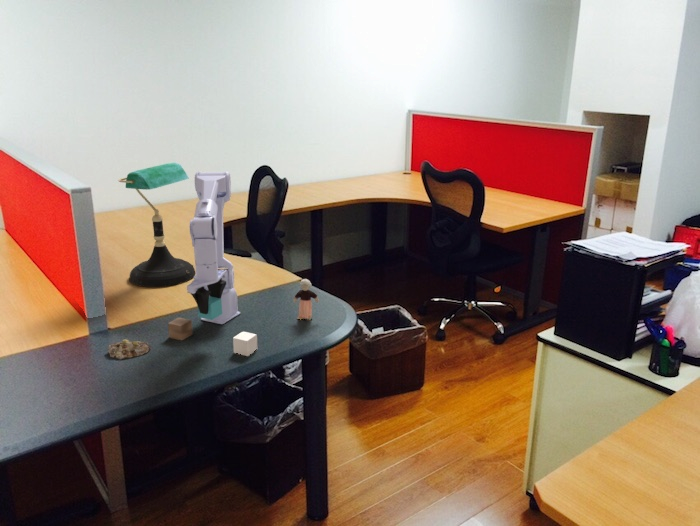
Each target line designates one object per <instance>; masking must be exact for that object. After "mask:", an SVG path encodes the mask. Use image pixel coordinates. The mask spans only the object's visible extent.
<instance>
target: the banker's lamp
mask: <svg viewBox="0 0 700 526" xmlns="http://www.w3.org/2000/svg"><path fill="white" fill-rule="evenodd" d="M188 179H189V176H188V174H187V172H186V171H185V169H184V168H183V166H182V165H181V164H179V163H176V162H168V163H164V164H159V165H154V166H151V167H146V168H143V169H137V170H134V171H131V172H129V173H128V174H127V176H126V177H123V178H120V179H118V182H119V183H125V188H126V189H133V190H135V191H136V192H137V193H138V195H140V196H141V198H142V199H143V200H144V201H145V202H146V203H147V204H148V205H149V206H150V208H151V209H153V211H154V212H153V213H154V215H153V216H152V218H151V222H152V230H153V238H154V240H155V242H154V246H153V250H152V252H151V255H150V256H149V258H148V260H145V261H142V262H140V263H139V264H137V265H136V266H134V267H133V268H132V269H131V271H130V273H129V281H130V283H132V284H134V285H136V286H138V287H144V288H145V287H146V288H160V287H161V288H163V287H171V286H176V285H180V284H183V283H186V282H188V281H190V280H192V279H194V276H196V268H195V266H194V265H193V264H192V263H190V262H188V261H186V260H184V259H182V258H180V257H179V258H178V257H175V256H173V255H172V253H171V252H170V251H169V249H168V247H167V246H166V242H165V241H164V239H165V235H164V234H165V233H164V224H163V221H164V219H163V216H162V215H160V212H159V211H160V210H159V209H157V208H156V207H155V206H154V205H152V203H151V202H150V201H149V200H148V198H147V197H146V196H145V195H144V194H143V193H142V192H141V191H140V190H146V191H147V190H154V189H159V188H162V187H164V186H168V185H171V184H175V183H178V182H182V181H185V180H188Z"/></svg>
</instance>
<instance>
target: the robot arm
mask: <svg viewBox="0 0 700 526" xmlns="http://www.w3.org/2000/svg"><path fill="white" fill-rule="evenodd" d="M231 185H232V180H231V174H230V172H229V171H228V170H226V171H196V173H195V174H194V188H195V191H196V195H197V198H198V199H199V200H198V201H197V203H196V206H195V210H194V216H193V219H190V220H189V234H190V238H191V239H190V240H191V245H192V247H193V254H194V268H195V273H196V274H195V276H194V277H193V280H192V281H191V282H190V283H189V284H187V285H186V290H187V294H190V295H191V297H192V298H193V299H194V301H195V302H196V305H198V306H197V309H198V308H199V311H200V313H202V314H208V301H209V296H210V297H216V298H221V303H222V314H221V315H220V316H218V317H216V318H215V319H213V320H210V319H205V318H200V320H201V321H205V322H210V323H214V324H218V325H223V324H225V323H227V322H229V321H231V320H232V319H234V318H235V317H237V316H239V315H240V314H241V311H239V307H238V294H237V290H236V289H235V288H234V287H235V271H234V265H233V263H232V262H231V261H230V260H228V259H227V258H225V257H224V254H225V252H224V251H225V250H224V248H225V247H224V246H225V245H224V241H225V240H224V208H225V204H226V203H227V202H229V201H230V200H231V197H232V196H231V194H232V191H231V190H232V186H231Z"/></svg>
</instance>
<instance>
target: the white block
mask: <svg viewBox="0 0 700 526" xmlns="http://www.w3.org/2000/svg"><path fill="white" fill-rule="evenodd" d="M232 346H233V353H234V354H236V353H238V354H237V355H240V354H241V356H246V357H250V354H251V355H252V354H253V353H255V352H256V351H257V350H258V335H257V333H256V334H255V333H252V332H248V331H241V332H240V333H238V334H237V335H235V336H233V337H232ZM256 349H257V350H256ZM255 350H256V351H255ZM254 351H255V352H254Z"/></svg>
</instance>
